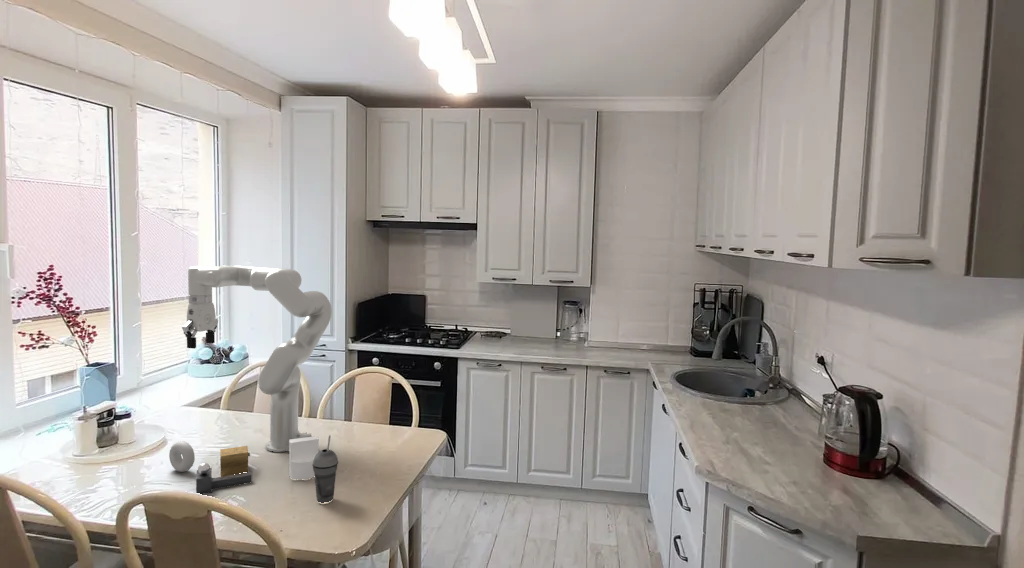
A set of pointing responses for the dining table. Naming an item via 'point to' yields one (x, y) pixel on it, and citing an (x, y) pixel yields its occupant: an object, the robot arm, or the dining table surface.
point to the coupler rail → (217, 479)
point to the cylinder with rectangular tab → (302, 457)
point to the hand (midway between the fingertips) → (201, 345)
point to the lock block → (234, 460)
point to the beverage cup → (325, 473)
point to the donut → (186, 453)
